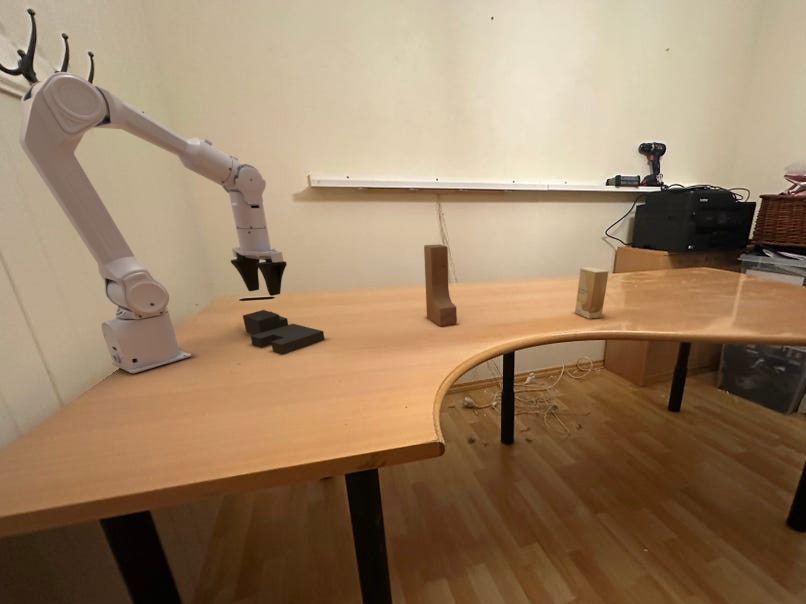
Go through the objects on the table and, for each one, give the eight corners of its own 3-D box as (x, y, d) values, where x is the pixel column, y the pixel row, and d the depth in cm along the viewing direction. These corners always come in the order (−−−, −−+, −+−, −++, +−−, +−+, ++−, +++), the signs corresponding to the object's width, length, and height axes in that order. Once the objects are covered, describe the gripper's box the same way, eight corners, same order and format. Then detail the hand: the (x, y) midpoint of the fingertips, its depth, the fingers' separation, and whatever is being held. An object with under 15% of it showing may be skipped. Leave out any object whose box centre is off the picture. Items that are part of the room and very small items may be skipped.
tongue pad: (261, 338, 87) (258, 320, 85) (246, 332, 89) (242, 315, 87) (292, 327, 93) (290, 311, 91) (277, 322, 95) (274, 306, 94)
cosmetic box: (574, 313, 108) (579, 267, 104) (587, 311, 110) (592, 266, 106) (589, 319, 103) (595, 271, 98) (602, 317, 105) (609, 270, 100)
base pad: (283, 354, 78) (281, 344, 78) (252, 344, 83) (250, 335, 82) (324, 339, 86) (323, 330, 86) (294, 331, 91) (293, 323, 90)
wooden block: (457, 324, 98) (456, 248, 91) (440, 326, 96) (438, 249, 89) (442, 315, 105) (440, 244, 98) (426, 317, 103) (423, 245, 96)
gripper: (291, 228, 83) (301, 293, 89) (249, 225, 90) (261, 285, 95) (259, 230, 78) (272, 299, 83) (217, 227, 84) (231, 291, 90)
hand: (264, 292), depth 89 cm, fingers open, 7 cm apart
